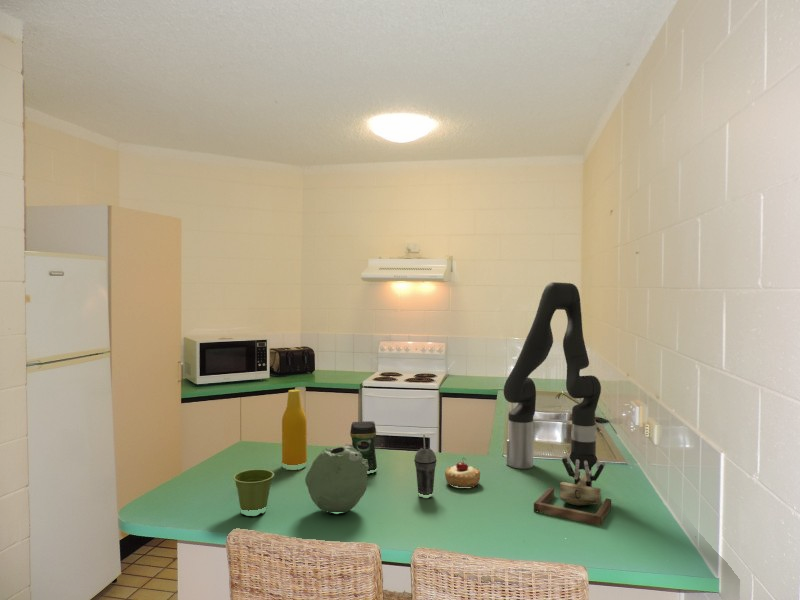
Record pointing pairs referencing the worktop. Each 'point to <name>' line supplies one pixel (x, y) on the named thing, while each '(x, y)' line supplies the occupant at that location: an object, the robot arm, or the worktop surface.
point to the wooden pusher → (585, 491)
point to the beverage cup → (425, 469)
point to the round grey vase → (337, 479)
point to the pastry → (462, 475)
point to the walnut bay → (571, 510)
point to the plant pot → (253, 488)
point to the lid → (577, 500)
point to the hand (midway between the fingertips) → (583, 490)
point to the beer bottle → (294, 431)
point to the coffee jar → (365, 441)
